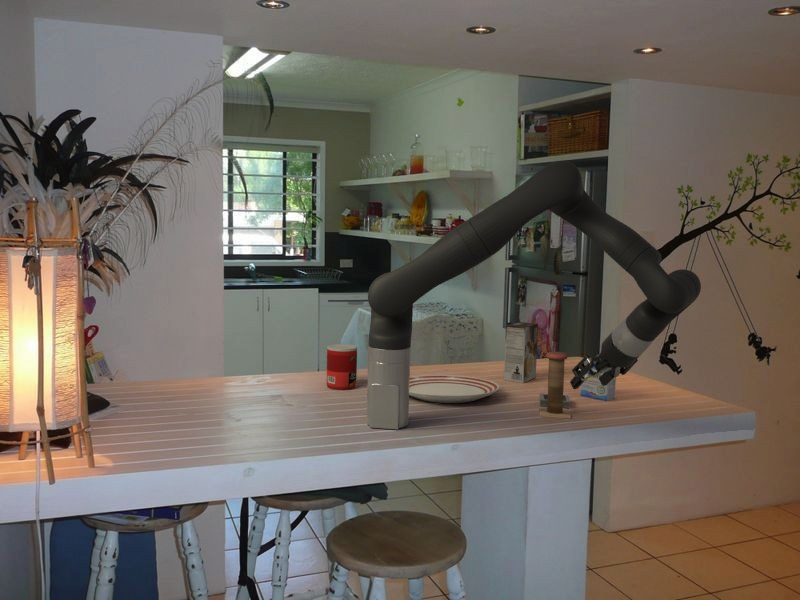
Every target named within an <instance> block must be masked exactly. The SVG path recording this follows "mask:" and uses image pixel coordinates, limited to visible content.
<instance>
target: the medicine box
mask: <svg viewBox="0 0 800 600" xmlns="http://www.w3.org/2000/svg"><path fill="white" fill-rule="evenodd" d="M592 370H593V371H594V372H596V371H597V370H596V369H595V367H594V366H593V369H592ZM603 373H604V372H603ZM603 373H601V374H600V375H598V376H596V377H590V378H588V379H586V380H585V381H584V382H583V384H582V385H581V386H580V389H579V391H580V392H579V393H580V394H579V396H581V397H583V398H589V399H593V400H600V401H603V402H608V401H612V400H614V399H615V398H616V397H615V396H616V385H617V384H616V382H617V377H614V378H613V379H612V380H611V381H610V382H609V383H608V384H607V385H606V386H603V385H602V384H601V382H600V380H599V378H600V376H601V375H602V374H603ZM587 374H589V371H588V372H587V373H586V374H585V375H587Z"/></svg>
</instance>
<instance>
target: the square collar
mask: <svg viewBox="0 0 800 600" xmlns="http://www.w3.org/2000/svg"><path fill="white" fill-rule="evenodd" d="M547 400H548V393H542V392H541V393H539V407H544V408H547ZM563 409H571V399H570V396H569V394H563Z"/></svg>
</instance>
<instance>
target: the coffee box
mask: <svg viewBox="0 0 800 600" xmlns="http://www.w3.org/2000/svg"><path fill="white" fill-rule="evenodd" d="M538 333H539V323H534V322H532V323H531V322H525V321H522V322H521V321H516V322H514V323H510V324H506V325H505V342H504V343H505V344H504V370H503V381H505V382H507V381H508V382H515V383H519V384H520V383H522V384H525V383H527V382H529V381H531V380H533V379H536V377H537V359H538V358H537V357H538V354H537V353H538V336H539V335H538Z"/></svg>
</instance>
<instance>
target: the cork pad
mask: <svg viewBox="0 0 800 600" xmlns="http://www.w3.org/2000/svg"><path fill="white" fill-rule="evenodd" d="M538 409H539V411H538V412H539V417H541V418H554V419H557V418H559V419H571V416H572V415H571V412H570V410H569V409H570V408H563V412H562V413H560V414H553V413H549V412H547V407H542V406H539V407H538Z"/></svg>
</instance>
